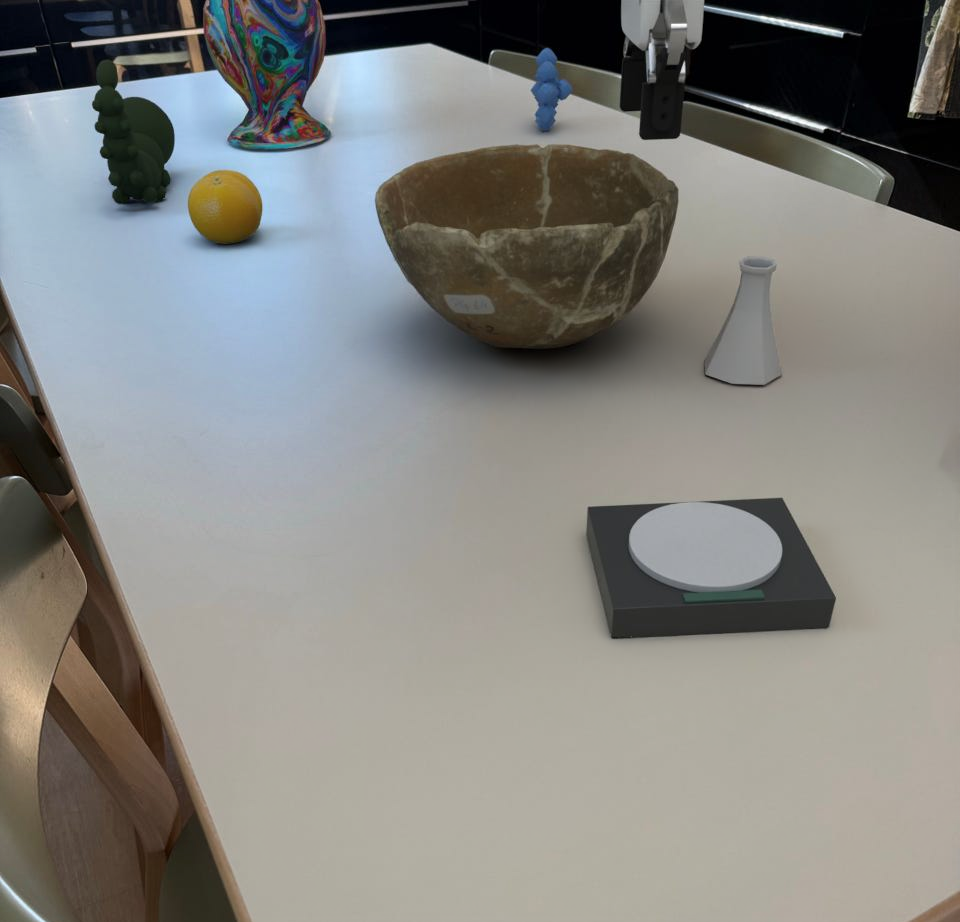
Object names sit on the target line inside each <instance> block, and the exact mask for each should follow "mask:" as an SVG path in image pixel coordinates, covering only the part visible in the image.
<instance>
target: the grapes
mask: <svg viewBox="0 0 960 922" xmlns="http://www.w3.org/2000/svg"><path fill="white" fill-rule="evenodd" d="M557 61H558V57H557V56H556V54H555V53H554V51H553V50H552V49H550V48H549V47H545V48H543V49H542V50H541V51H540V53H539V54H538V55H537V57H536V58H535V61H534V62H535V64H536V65H537V67H538V68H537V70H536V71H535V73H536V74H535V75H534V79H536V82H535V83H534V84H533V86H532V87H531V89H530V93H532V95H533V96H534V99H535V101H536V103H537V106H538V108H537V110H536V112H535V114H534V116H535V118H536V119H535V120H534V122H535V124H536V125H537V126H538V128H539V129H540V130H542V131H543V132H547V131H549V130H550V129H551V128H552V127H553V125H554V124H555V123H556V121H557V119H555V117H556V114H557V113H558V112H557V110H556V109H557V107H558V106H559V102H560V101H564V100H567V99H568V97H569V96H570V95H571V93H572V92H573V90H574V89H573V87H572V85H571V83H570V82H569V81H568V80H567V79H565V78H561V79H559V77H560V74H559V71H558V69H557V68H556V66H555V64H556V62H557Z"/></svg>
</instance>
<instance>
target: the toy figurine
mask: <svg viewBox="0 0 960 922" xmlns="http://www.w3.org/2000/svg"><path fill="white" fill-rule="evenodd" d="M95 73H96V75H95V77H96V81H97V84H98V87H99V89H98V90H97V91H96V93H95V95H94V100H92V102H91V106H92V109H93V110H94V112H98V115H97V121H96V122H95V123H94V130H95V131H96V132H97V133H99V134H101V135H103V137H102V146H101V147H100V149H99V155H100V157H101V158H102V159H103V160H107V161H106V163H107V168H108V171H109V175H108V177H107V180H108V182H109V184H110V185H111V186H112V187H116V188H115V189H113V190H112V192H111V198H112V200H113V201H114V202H115V204H118V205H125V204H127V203H129V202H130V200H131V199H134V200H140V201H141V200H143V201H144V202H146V203H148V204H149V203H154V202H156V201H160V202H161V201H163V200H165V199H166V197H167V190H166V188H168V187H169V186H170V185H171V182H172V178H171V175H170V173H169V171H168V170H167V169H165V168H166V167H165V165H166V164H167V163H168V161H170V160H171V157H172V155H173V153H174V150H175V143H176V137H175V129H174V125H173V123H172V121H171V119H170V117H169V115H168V114H167V113H166V112H165V111H164V110H163V109H162V108H161V107H160V106H159V105H158V104H156V102H153V101H151V100H150V99H147V98H145V97H140V96H127V97H124V98H123V96H122V94H121V93H120V92H119V91H118V90H116V88H117V86H118V83H119V73H118V67H117V65H116V63H115V62H114V61H112V60H111V59H104V60H101V61H100V62H99V64H98V65H97V67H96V72H95Z"/></svg>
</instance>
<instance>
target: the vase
mask: <svg viewBox="0 0 960 922" xmlns="http://www.w3.org/2000/svg"><path fill="white" fill-rule="evenodd" d="M202 9H203V10H202V11H203V12H202V13H203V15H202V16H203V18H202V19H203V36H204V39H205V44H206V48H207V52H208V54H209V57H210V58H211V62H212V64H213V66H214V68H215V69H216V71H217V72H218V74H219V75H220V77H222V79H223V80H224V82H225V83H226V84H227V85H228V86H229V87H230V88H231V89H232V90H233V91H234V92H235V93H236V94H237V95H239V97H240V98H241V100H242V101H243V103H244V104H245V106H246V108H247V109H248V110H247V111H246V114H245V116H244V118H243V119H242V121H241V122H240V123H239V124H238V125H237V126H236V127H235V128H233V130H231V132H230V133H229V135H228V137H227V140H226V141H227V142H228V143H229V144H231V145H232V146H235V147H239V148H244V149H252V150H270V151H271V150H285V149H293V148H300V147H305V146H309V145H314V144H316V143H319V142H322V141H324V140H326V139H328V138H329V137H330V136H331V135H332V132H331V130H330V129H329V127H327V126H326V125H325V123H322V122H321V121H319V120H317V119H316V118H315V117H313V116H312V115H310V113H309V112H308V111H307V110H306V108H305V107H304V103H305V100H306V97H307V94H308V91H309V90H310V88H311V86H312V85H313V83H314V82H315V80H316V79H317V77H318V76H319V73H320V72H321V68H322V66H323V63H324V62H325V61H324V60H325V53H326V46H327V38H326V37H327V36H326V22H325V17H324V15H323V11H322V7H321V3H320V1H319V0H205V2H204V5H203V8H202Z"/></svg>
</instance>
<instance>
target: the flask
mask: <svg viewBox="0 0 960 922" xmlns="http://www.w3.org/2000/svg"><path fill="white" fill-rule="evenodd" d="M739 269H740V272H741V273H740V279H739V281H740V282H739V285H738V288H737V291H736V293H735V297H734V300H733V303H732V306H731V308H730V309H729V312H728V313H727V315H726V317H725V319H724V321H723V324H722V326H721V328H720V330H719V332H718V334H717V335H716V338H715V340H714V341H713V343H712V345H711V347H710V349H709V351H708V353H707V355H706V357H705V359H704V361H703V363H704V374H705V375H706V376H709V377H712V378H714V379H717V380H720V381H723V382H726V383H729V384H733V385H756V386H757V385H760V386H765V385H767V384H769V383H770V382H771V381H773V380H775V379H776V378H778V377H780V376H782V369H781V363H780V358H779V353H778V348H777V344H776V343H777V341H776V337H775V331H774V325H773V319H772V313H771V282H772V274H773V273H774V272H775V271H776V270H777V261H776V259H774V258H770V257H766V256H755V255H754V256H752V255H751V256H750V255H747V256H745V257H744V258H741V259H739Z"/></svg>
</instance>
